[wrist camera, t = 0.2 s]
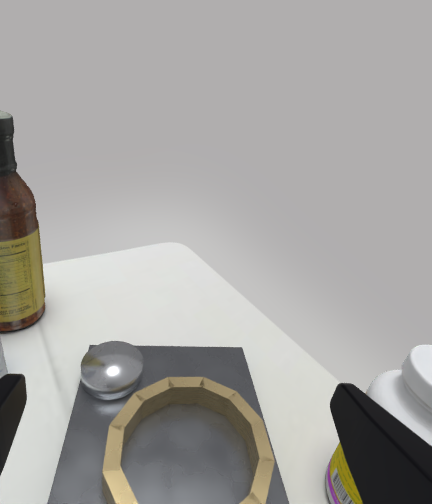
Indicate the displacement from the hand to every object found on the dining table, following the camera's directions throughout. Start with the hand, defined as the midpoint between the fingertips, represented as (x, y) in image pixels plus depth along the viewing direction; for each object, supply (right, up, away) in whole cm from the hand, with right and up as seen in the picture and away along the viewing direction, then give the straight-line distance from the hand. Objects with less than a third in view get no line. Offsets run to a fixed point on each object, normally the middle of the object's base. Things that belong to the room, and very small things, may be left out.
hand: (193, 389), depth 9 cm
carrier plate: (-3, -11, +15) cm, 19 cm away
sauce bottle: (-21, -3, +24) cm, 32 cm away
